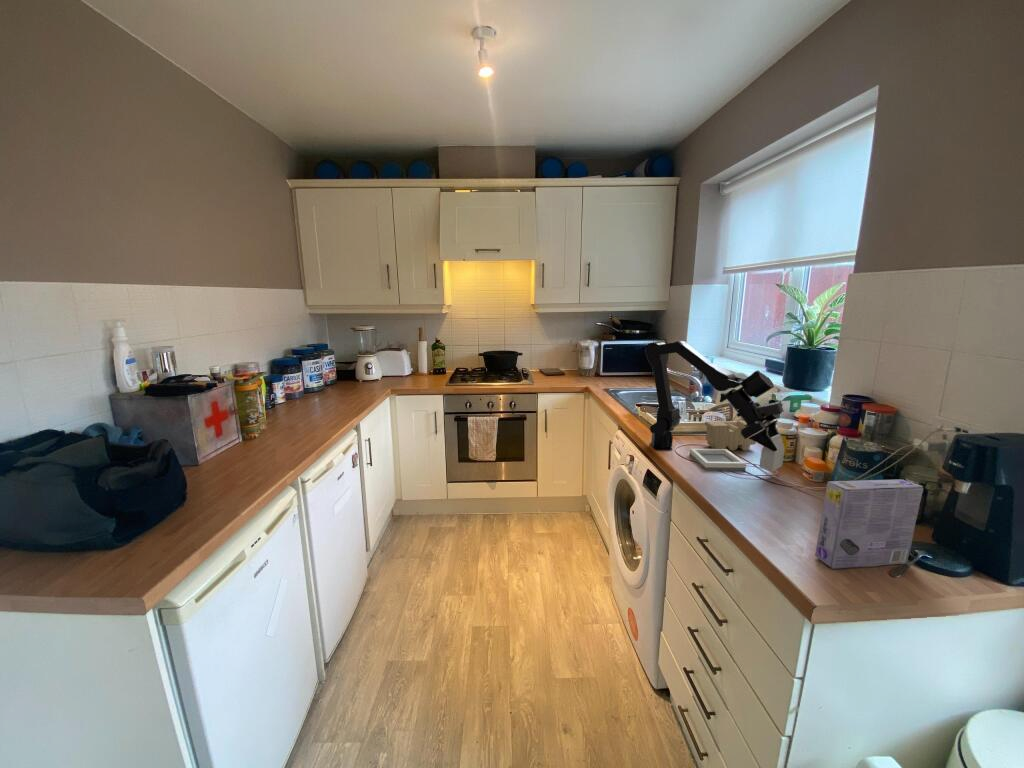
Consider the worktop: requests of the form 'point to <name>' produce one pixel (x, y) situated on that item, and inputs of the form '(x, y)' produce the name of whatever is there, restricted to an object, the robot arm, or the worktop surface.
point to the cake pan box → (868, 522)
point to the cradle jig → (717, 459)
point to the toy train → (727, 435)
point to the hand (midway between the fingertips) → (779, 447)
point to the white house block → (773, 455)
